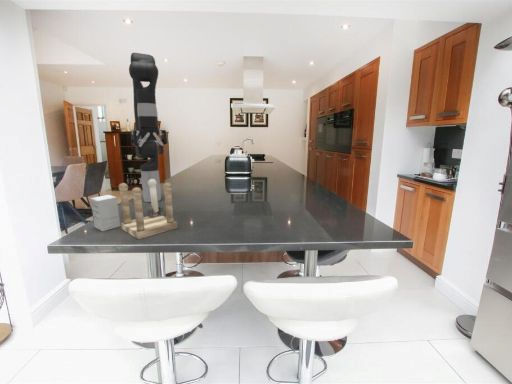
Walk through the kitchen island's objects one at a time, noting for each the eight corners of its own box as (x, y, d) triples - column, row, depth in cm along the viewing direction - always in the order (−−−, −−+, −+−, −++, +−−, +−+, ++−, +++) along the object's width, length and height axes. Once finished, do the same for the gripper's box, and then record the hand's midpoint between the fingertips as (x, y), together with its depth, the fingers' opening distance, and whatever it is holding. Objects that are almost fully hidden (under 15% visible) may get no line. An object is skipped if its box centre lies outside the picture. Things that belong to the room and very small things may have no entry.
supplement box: (113, 222, 114) (109, 194, 112) (120, 226, 110) (117, 196, 107) (94, 227, 109) (89, 197, 106) (101, 231, 104) (97, 200, 101)
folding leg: (149, 211, 115) (146, 179, 112) (157, 210, 117) (153, 178, 115) (153, 213, 113) (149, 179, 110) (161, 211, 115) (157, 178, 112)
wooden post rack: (121, 228, 107) (115, 183, 103) (159, 218, 119) (156, 177, 115) (138, 239, 97) (133, 189, 93) (179, 227, 109) (176, 182, 105)
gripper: (159, 116, 116) (162, 153, 120) (126, 115, 106) (130, 155, 110) (168, 116, 111) (171, 154, 115) (134, 114, 101) (138, 157, 105)
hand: (151, 155), depth 113 cm, fingers open, 8 cm apart
